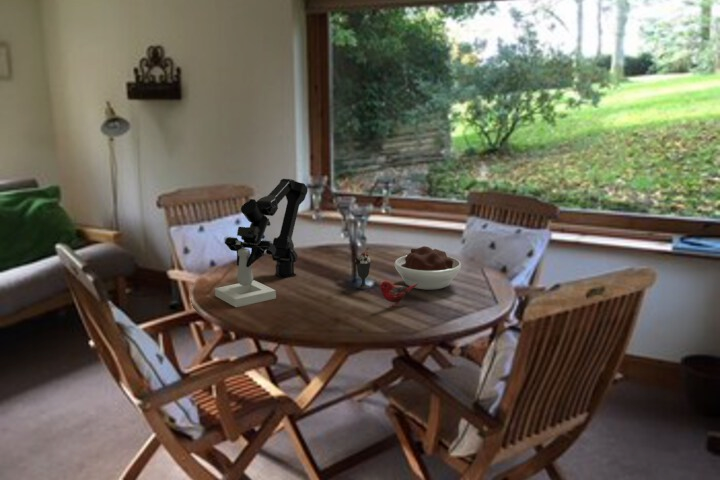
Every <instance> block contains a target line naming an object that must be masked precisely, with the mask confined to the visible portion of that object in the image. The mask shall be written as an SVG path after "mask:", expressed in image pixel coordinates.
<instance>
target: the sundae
mask: <svg viewBox="0 0 720 480" xmlns="http://www.w3.org/2000/svg"><path fill="white" fill-rule="evenodd" d="M368 249H369V248H366V250H365V251H364V252H362V253H361V254H360V255H359V256H357V257H356V256H355V258H354V259H355V260H354V265H356V270H357V276H358V277H359V278H360V279H361V284H358V285H357V286H358V287H357V286H356V288H357V289H360V290H369V289H370V285H368V284H366V278H367V277H369V275H370V270H371V269H370V268H371V263H373V261H372V260H371V258H370V257H369V254H368V253H366V251H368Z"/></svg>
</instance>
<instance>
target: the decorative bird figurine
mask: <svg viewBox="0 0 720 480" xmlns="http://www.w3.org/2000/svg"><path fill="white" fill-rule="evenodd" d="M416 285H418V284H415V285H413V286H404V285H396V284H393V283H392V282H390V281H387V280H384V281H382V283H381V285H380V287H379V290H381V292H382V294H383V295H382V296H383V297H384V299H386V301H388V302H390V303H393V304H392V305H389V306H388V307H389V308H391V307H392V308H395V306H398V305H400V303H399V302H400V301H402V299H404V298H405V297H406V296H408V293H409V292H410V291H411V290H412V289H415V288H414V287H415V286H416Z"/></svg>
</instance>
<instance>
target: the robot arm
mask: <svg viewBox="0 0 720 480" xmlns="http://www.w3.org/2000/svg"><path fill="white" fill-rule="evenodd" d="M307 194H308V186H307V185H306V183H304V182H299V181H296V180H294V179H291V178H282V179H280V180H279V183H278V184H277V185H276V186H275V188H273V189H272V190H271V191H270V193H269V194H268V195H267V196H266V195H265V196H263V197H260V198H259V199H257V200H256V199H255V198H253V199H252V198H249V200H248V201H246V202H244V203H243V205H241V208H240V211H241V213H242V214H243V215H244V217H245V219H247V221H248V222H249V223H250V226H247V227H245V226H238V227H237V232H236V236H237V237H241V238H240V239H241V240H239V239H238V238H237V237H233V236H228V237H226V239H225V241H224V244H225V245H226V246H227V248H228V249H229V250H230V251H232V252H236V266H237V267H238V266H239V258H240V256H238V250H239V249H243V248H246V249H251V250H250V255H249V256H248V257H249V259H248V261H247V264H246V266H247V267H249V266H250V265H251V266H252V265H253V264H254V262H256V261H258V259H260V258H262V257H265V252H266V255H270V256H271V257H272V261H273V262H276V264H275V273H274V275H275V276H277V277H279V278H282V279H285V278H289V277H295V276H297V273H295V268H294V267H295V266H294V265H295V263H296V262H297V260H298V254H297V252H296V251H295V250H294V249H295V248H294V247H295V246H294V242H293V235H294V234H293V233H294V230H295V226H296V222H297V221H296V220H297V218H298V217H297V216H298V213H299V207H300V205H301V204H302V203H303V202H304V201H305V199H306V196H307ZM284 197H285V198H286V201H287V202H286V208H285V212H284V215H283V218H282V225H281V229H280V232H279V236H277V237H274V238H273V239H272V240H273V241H271V240H264V239H265V235H264V234H265V231H266V229H267V227H270V226H271V222H270V218H268V216H269V217H273V216H274V215H275V214H276V213H277V211H278V209H279V206H278V205H279V204H280V202H281V201H282V200H283V199H284Z"/></svg>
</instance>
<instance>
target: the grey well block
mask: <svg viewBox="0 0 720 480" xmlns="http://www.w3.org/2000/svg"><path fill="white" fill-rule="evenodd" d="M214 291H215V293H214V294H215V297H216V298H218V299H220V300H222V301H223V302H226V303H227V304H228V305H230V306H232V307H235V308H241V307H244V306H249V305H254V304H257V303H261V302H266V301H271V300H275V299H277V292H276V291H277V290H276V289H273V288H271V287H269V286H267V285H265V284H263V283H261V282H259V281H257V280H255V279H253V281H252V284H251V285H248V286H242V285H240V284H239V282H238V283H235V284H230V285H225V286H220V287H215V288H214Z"/></svg>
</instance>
